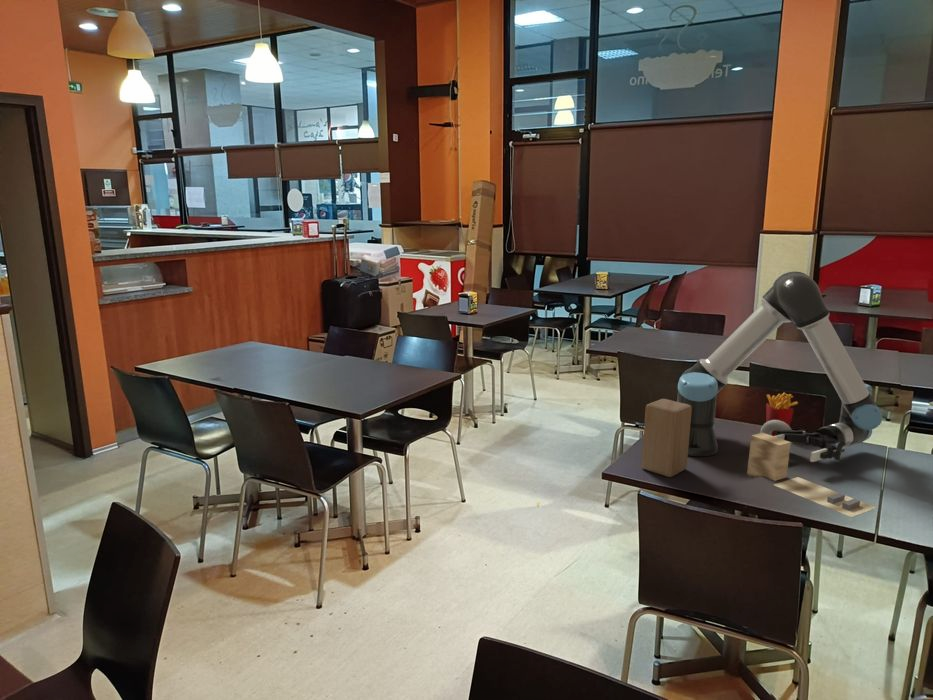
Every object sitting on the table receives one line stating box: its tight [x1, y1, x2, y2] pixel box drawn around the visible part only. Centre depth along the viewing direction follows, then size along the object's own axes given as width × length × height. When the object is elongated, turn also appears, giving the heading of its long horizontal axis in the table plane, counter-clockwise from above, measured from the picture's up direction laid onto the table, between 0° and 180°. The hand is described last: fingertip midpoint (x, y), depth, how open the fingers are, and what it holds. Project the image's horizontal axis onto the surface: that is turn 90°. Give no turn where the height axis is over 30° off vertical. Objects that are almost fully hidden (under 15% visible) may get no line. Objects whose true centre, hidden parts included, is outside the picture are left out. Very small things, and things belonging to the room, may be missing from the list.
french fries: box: [765, 392, 799, 436], centre depth 228 cm, size 9×8×15 cm
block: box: [641, 398, 692, 478], centre depth 198 cm, size 10×10×20 cm
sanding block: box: [746, 432, 792, 482], centre depth 193 cm, size 9×5×12 cm, turn 30°
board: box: [773, 476, 877, 518], centre depth 180 cm, size 22×11×2 cm, turn 30°
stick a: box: [827, 492, 846, 504], centre depth 177 cm, size 2×5×1 cm, turn 120°
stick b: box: [842, 498, 861, 510], centre depth 173 cm, size 2×5×1 cm, turn 120°
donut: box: [759, 420, 793, 445], centre depth 215 cm, size 10×4×10 cm, turn 49°
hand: (789, 449), depth 197 cm, fingers open, 13 cm apart
